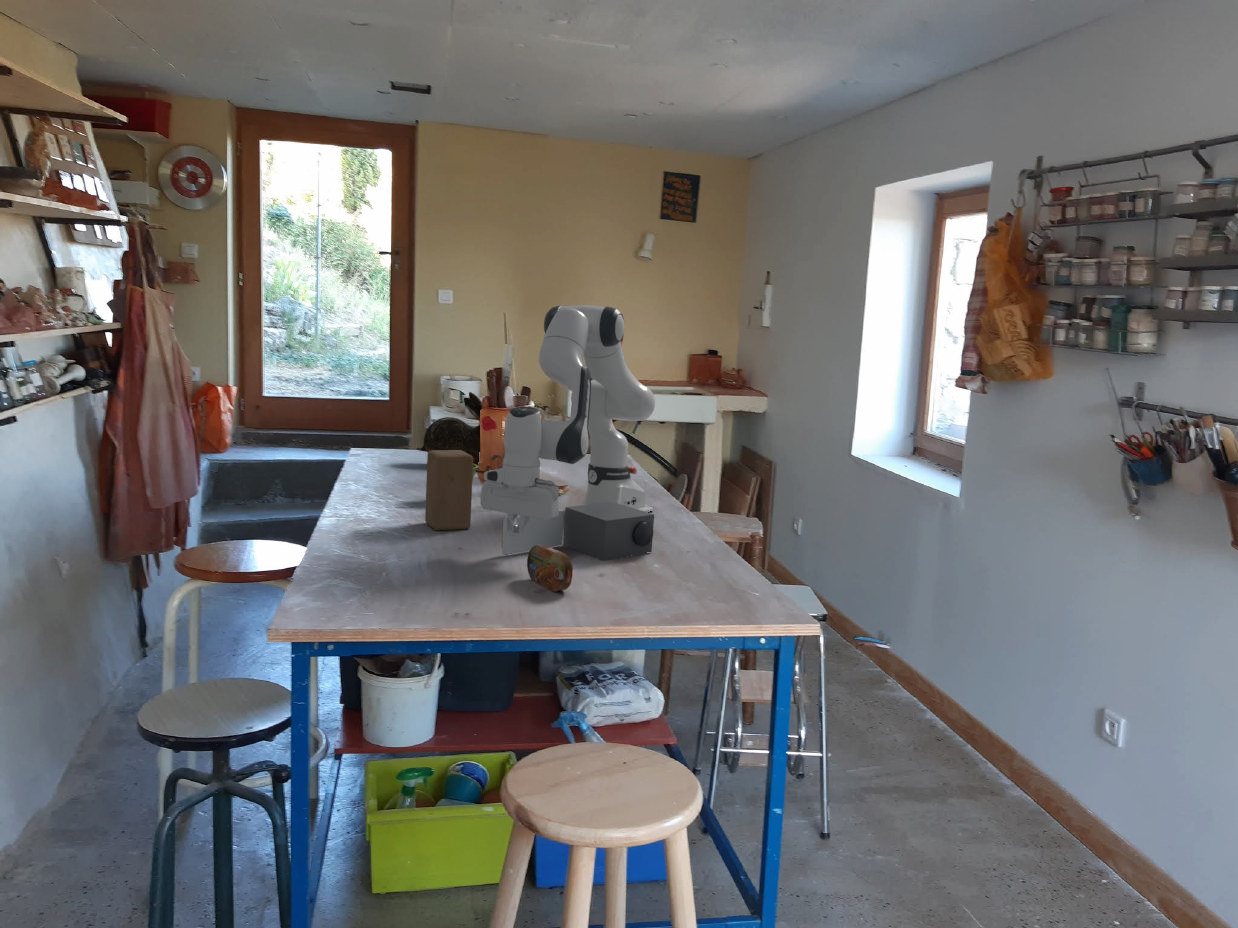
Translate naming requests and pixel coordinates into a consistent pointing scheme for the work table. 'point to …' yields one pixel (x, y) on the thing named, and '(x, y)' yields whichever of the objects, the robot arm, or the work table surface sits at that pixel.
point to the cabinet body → (608, 530)
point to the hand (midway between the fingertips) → (518, 532)
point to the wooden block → (449, 489)
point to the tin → (549, 568)
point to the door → (532, 534)
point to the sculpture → (456, 432)
